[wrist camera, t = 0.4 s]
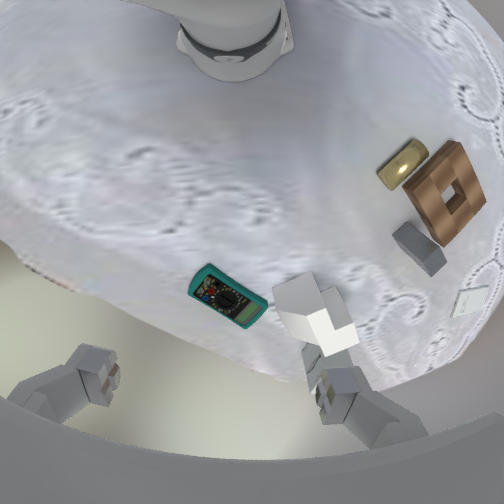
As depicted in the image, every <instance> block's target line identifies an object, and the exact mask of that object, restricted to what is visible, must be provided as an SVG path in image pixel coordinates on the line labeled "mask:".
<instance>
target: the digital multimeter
mask: <svg viewBox="0 0 504 504" xmlns="http://www.w3.org/2000/svg"><path fill="white" fill-rule="evenodd" d="M225 283H226V284H225ZM228 285H229V286H228ZM231 287H232V288H231ZM188 295H189V296H191V297H193V298H195V299H197V300H198V301H200V302H202V303H203V304H205V305H207V306H209V307H210V308H212V309H214V310H215V311H217V312H219V313H220V314H222V315H223V316H225V317H227V318H228V319H230V320H231V321H233V322H234V323H236V324H237V325H239V326H240V327H242V328H243V329H247V328H249V327H250V326H251V325H252V324H253V323H255V322H256V321H257V320H258V319H259V318H260V317H261V316H262V314H263V313H264V312H265V311H266V310H267V308H268V304H267V301H266V300H264V299H263V298H261V297H259V296H257V295H256V294H254V293H252V292H251V291H249V290H247V289H246V288H244V287H243V286H241V285H240V284H238V283H236V282H235V281H234V280H232V279H231V278H229V277H228V276H226V275H225V274H224V273H222V272H221V271H220V270H218V269H217V268H216V267H214V266H213V265H212V264H207V265H206V266H205V267H203V268H202V269H201V270H200V271H199V272H198V273H197V274H196V275H195V277H194V278H193V280H192V282H191V285H190V287H189V290H188ZM245 296H246V297H245ZM248 298H249V299H248ZM217 304H218V305H217Z"/></svg>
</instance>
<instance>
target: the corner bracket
mask: <svg viewBox="0 0 504 504" xmlns="http://www.w3.org/2000/svg"><path fill="white" fill-rule="evenodd" d="M273 293H274V300H275V307H276V311H277V313H278V314H279V316H280V318H281V320H282V322H283V324H284V325H285V327H286V329H287V331H288V333H289V335H290V337H291V338H293V339H297V340H301V341H304V342H308V343H312V344H315V345H319V346H320V347H321V349H322V351H323V354H324V356H325V357H327V356H329V355H332V354H334V353H337V352H339V351H342V350H344V349H346V348H349V347H351V346H353V345H356V344H358V343H360V342H359V339H358V336H357V332H356V329H355V326H354V323H353V321H352V319H351V317H350V315H349V313H348V310H347V308H346V306H345V304H344V302H343V300H342V298H341V296H340V294H339V292H338V290H337V288H336V286H333V287H331V288H329V289H326V290H324V291H322V292H320V291H319V289H318V286H317V284H316V282H315V279H314V277H313V274H312V272H311V271H310V272H308V273H306V274H303V275H301V276H299V277H296V278H294V279H292V280H289V281H287V282H285V283H282V284H280V285H277V286H275V287H273Z"/></svg>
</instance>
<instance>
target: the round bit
mask: <svg viewBox="0 0 504 504" xmlns="http://www.w3.org/2000/svg"><path fill="white" fill-rule="evenodd" d="M428 156H429V152H428V150H427V148H426V147H425V146H424V145H423V144H422V143H421V142H420V141H419V140H417V139H414V140H413V141H412V142H411V143H410V144H408V145H407V146H406V147H405V148H404V149H403V150H402V151H401V152H400V153H399V154H398V155H397V156H396V157H395V158H394V159H392V160H391V161H390V162H389V163H388V164H387V165H386V166H385V167H384V168H383V169H382V170H381V171H380V172H379V173H378V177H379V178H380V180H381V181H382V182H383V184H384V185H385V186H386V187H387V188H388V189H390V190H391V191H393V190H394V189H395V188H396V187H397V186H398V185H399V184H400V183H401V182H402V181H404V180H405V179H406V178H407V177H408V176H409V175H410V174H411V173H412V172H413V171H414V170H415V169H416V168H417V167H418V166H419V165H420V164H421V163H422V162H423V161H424V160H425V159H426V158H427V157H428Z"/></svg>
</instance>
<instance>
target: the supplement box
mask: <svg viewBox="0 0 504 504" xmlns="http://www.w3.org/2000/svg"><path fill="white" fill-rule="evenodd" d="M302 356H303V361H304V366H305V370H306V375H307V380H308V385H309V390H310V393H311V394H315V393H316V387H317V383H319V382H320V381H321V377H320V374H321V371H322V369H323V368H332V367H348V366H353V363H352V360H351V357H350V355H349V352H348V350H347V348H346V349H344V350H342V351H339V352H337V353H334V354H332V355H329V356H327V357H325V356H324V354H323V351H322V349H321V347H320V346H319V345H315V344H312V343H308V344H307V345H306V347H305V348H304V350H303V351H302Z"/></svg>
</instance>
